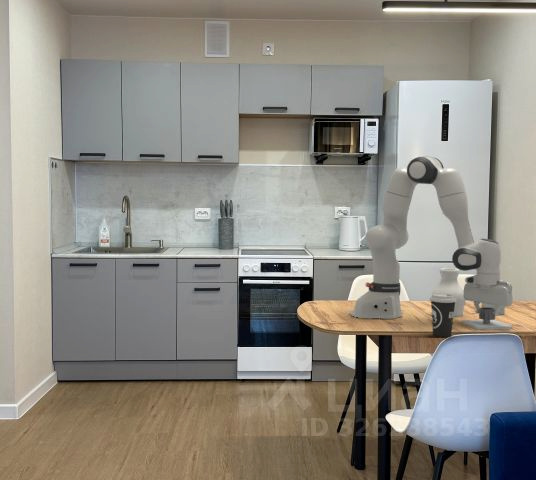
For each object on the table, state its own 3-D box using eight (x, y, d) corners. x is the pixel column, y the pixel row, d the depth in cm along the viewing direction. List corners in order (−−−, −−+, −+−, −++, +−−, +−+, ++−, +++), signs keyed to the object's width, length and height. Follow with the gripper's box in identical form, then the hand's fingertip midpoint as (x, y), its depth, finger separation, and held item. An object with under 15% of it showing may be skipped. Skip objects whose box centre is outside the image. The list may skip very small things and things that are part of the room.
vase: (426, 311, 288) (427, 267, 286) (457, 311, 289) (459, 267, 288) (438, 317, 274) (439, 270, 272) (470, 317, 275) (472, 270, 274)
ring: (483, 320, 254) (483, 310, 253) (476, 317, 260) (476, 307, 259) (497, 319, 255) (498, 309, 254) (490, 317, 260) (490, 307, 260)
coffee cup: (448, 339, 232) (449, 297, 231) (424, 335, 239) (425, 294, 238) (460, 335, 239) (461, 294, 238) (436, 331, 246) (437, 292, 245)
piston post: (478, 329, 250) (478, 314, 249) (462, 322, 263) (462, 308, 263) (511, 329, 252) (512, 313, 251) (494, 322, 265) (494, 307, 265)
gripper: (516, 282, 250) (515, 317, 251) (470, 276, 266) (469, 310, 267) (507, 283, 246) (506, 319, 247) (461, 277, 262) (460, 311, 263)
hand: (487, 314), depth 257 cm, fingers closed on ring, 6 cm apart
